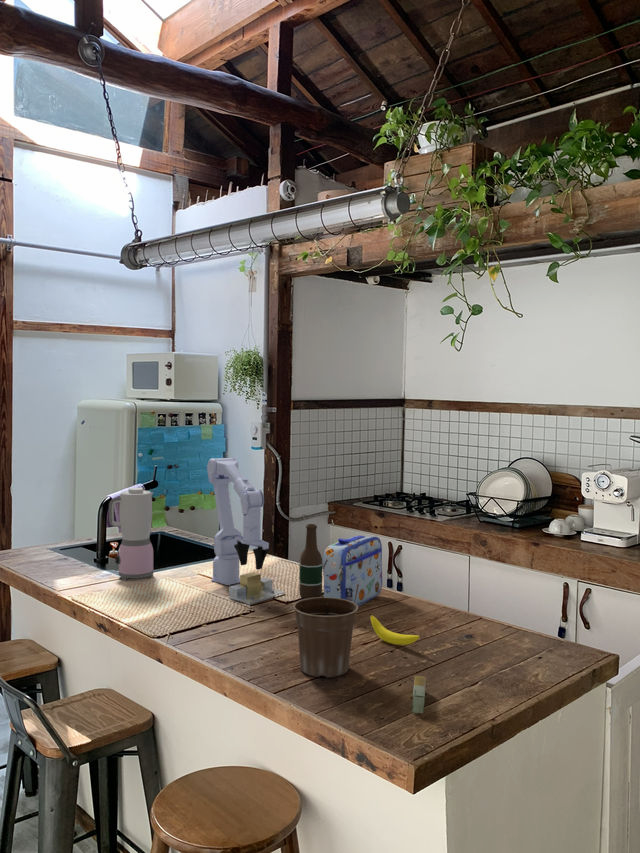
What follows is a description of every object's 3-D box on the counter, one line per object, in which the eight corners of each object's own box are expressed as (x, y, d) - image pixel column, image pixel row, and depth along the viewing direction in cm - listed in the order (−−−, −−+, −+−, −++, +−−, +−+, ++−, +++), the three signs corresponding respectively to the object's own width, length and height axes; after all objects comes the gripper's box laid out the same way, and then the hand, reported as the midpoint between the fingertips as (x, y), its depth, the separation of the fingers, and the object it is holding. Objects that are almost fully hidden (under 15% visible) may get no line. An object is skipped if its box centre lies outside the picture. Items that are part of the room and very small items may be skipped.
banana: (415, 655, 197) (416, 632, 196) (365, 636, 211) (365, 614, 211) (423, 653, 199) (423, 629, 198) (372, 633, 213) (373, 612, 213)
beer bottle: (319, 600, 244) (320, 527, 243) (296, 598, 246) (297, 526, 244) (324, 593, 252) (325, 523, 250) (301, 591, 254) (302, 521, 252)
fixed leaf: (229, 598, 245) (229, 586, 245) (264, 588, 257) (264, 577, 256) (249, 604, 238) (249, 593, 238) (285, 594, 250) (285, 583, 250)
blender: (150, 570, 277) (149, 485, 275) (157, 579, 266) (157, 490, 264) (106, 575, 271) (106, 487, 268) (112, 583, 260) (111, 492, 257)
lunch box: (346, 617, 227) (347, 546, 226) (317, 611, 233) (318, 541, 231) (385, 595, 251) (387, 530, 249) (358, 590, 256) (359, 527, 255)
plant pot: (320, 651, 198) (321, 592, 197) (369, 667, 188) (371, 604, 187) (279, 669, 186) (279, 606, 185) (329, 687, 176) (330, 620, 175)
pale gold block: (228, 589, 252) (228, 572, 252) (241, 586, 256) (241, 568, 256) (247, 595, 246) (247, 577, 245) (260, 591, 250) (260, 574, 250)
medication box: (423, 715, 163) (424, 697, 162) (411, 713, 163) (412, 696, 163) (424, 692, 174) (425, 675, 174) (413, 691, 175) (414, 674, 175)
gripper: (228, 525, 250) (227, 564, 251) (257, 531, 240) (257, 573, 241) (244, 522, 255) (243, 561, 256) (273, 528, 245) (273, 569, 246)
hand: (251, 566), depth 249 cm, fingers open, 7 cm apart
